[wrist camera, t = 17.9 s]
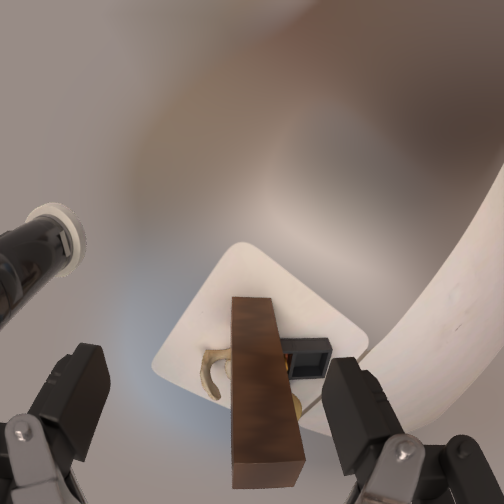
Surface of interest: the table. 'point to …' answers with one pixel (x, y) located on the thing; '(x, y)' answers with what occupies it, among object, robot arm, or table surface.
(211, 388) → the bone
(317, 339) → the dark grey open box
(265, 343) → the block
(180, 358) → the table surface
